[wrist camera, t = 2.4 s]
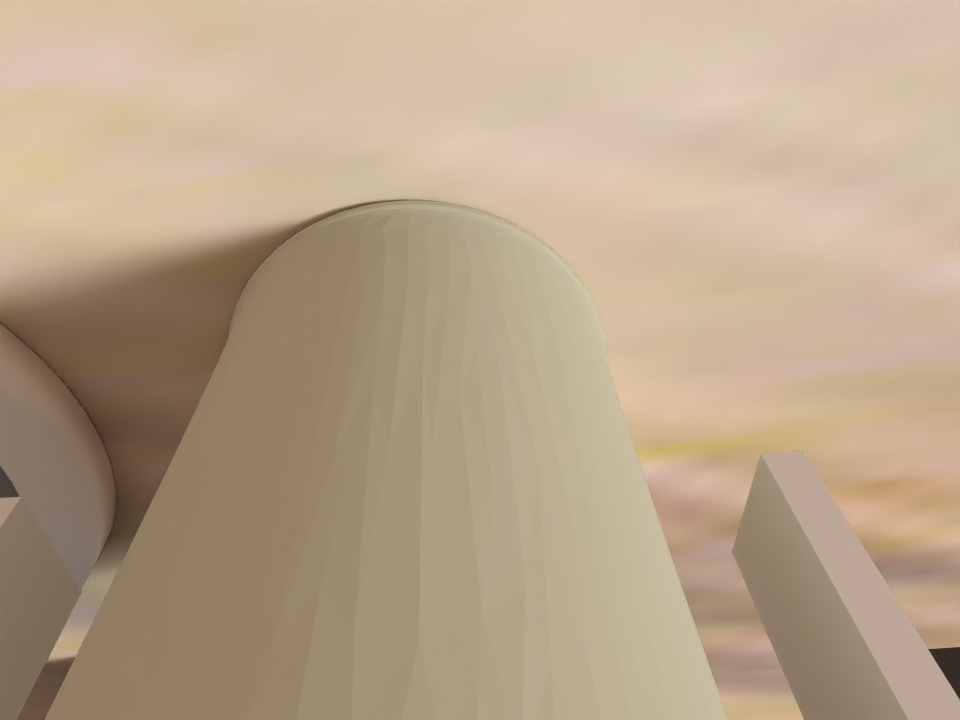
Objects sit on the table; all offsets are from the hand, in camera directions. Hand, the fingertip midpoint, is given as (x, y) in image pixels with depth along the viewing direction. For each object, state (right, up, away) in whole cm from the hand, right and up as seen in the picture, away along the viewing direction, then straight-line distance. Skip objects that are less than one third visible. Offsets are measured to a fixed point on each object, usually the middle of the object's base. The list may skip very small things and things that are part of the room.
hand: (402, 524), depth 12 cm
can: (0, +3, +4) cm, 5 cm away
